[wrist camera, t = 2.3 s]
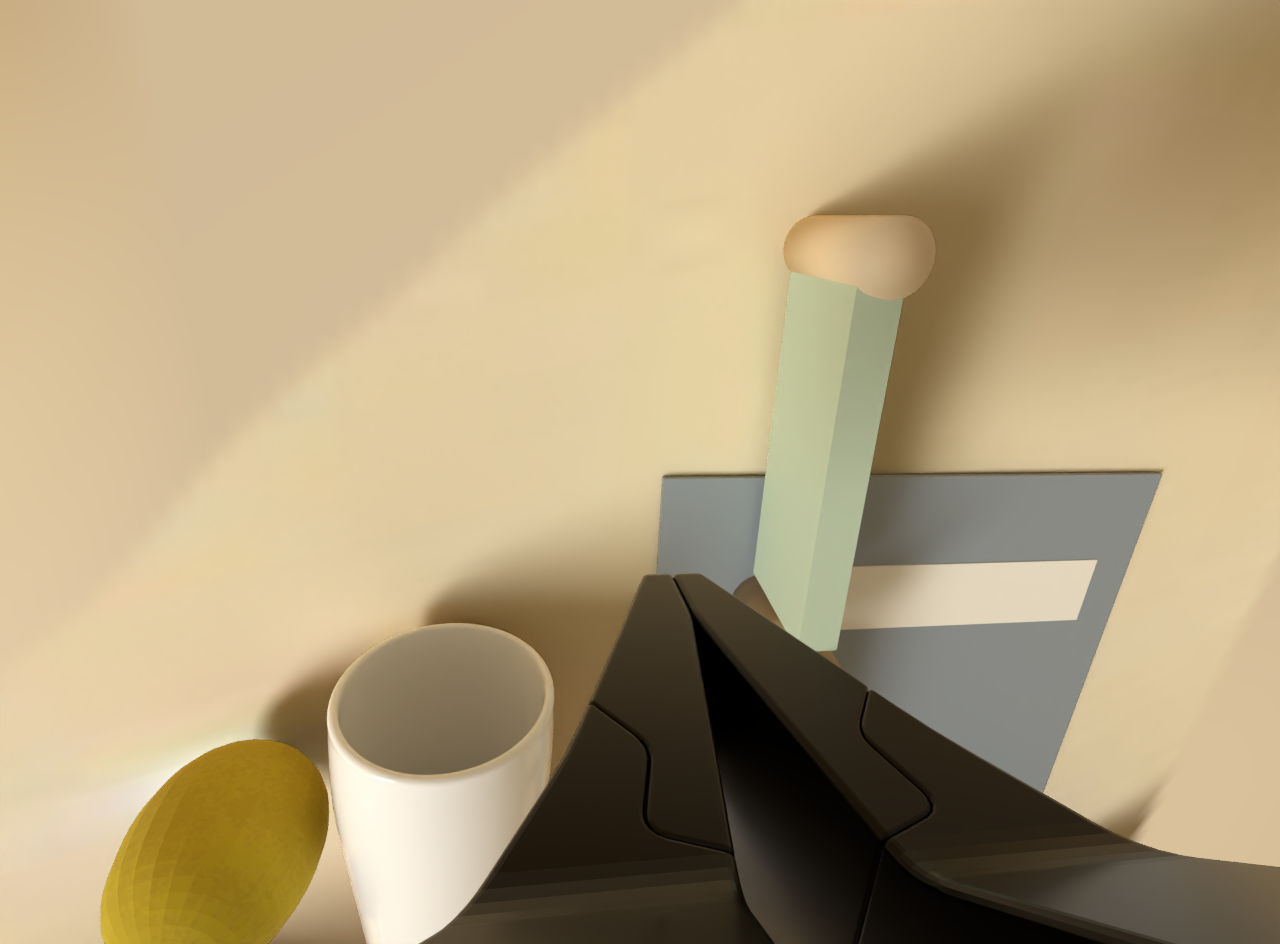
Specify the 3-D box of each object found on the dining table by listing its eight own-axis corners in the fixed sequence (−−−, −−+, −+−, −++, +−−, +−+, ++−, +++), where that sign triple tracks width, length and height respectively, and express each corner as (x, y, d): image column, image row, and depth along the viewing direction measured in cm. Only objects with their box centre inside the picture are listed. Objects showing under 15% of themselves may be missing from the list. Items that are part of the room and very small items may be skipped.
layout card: (1157, 472, 24) (1163, 474, 24) (1018, 846, 31) (1022, 851, 31) (662, 476, 21) (663, 479, 21) (638, 882, 29) (639, 887, 29)
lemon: (165, 763, 23) (-13, 1012, 16) (254, 665, 22) (109, 881, 15) (299, 828, 25) (195, 1077, 18) (386, 740, 24) (315, 964, 17)
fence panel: (793, 571, 23) (853, 660, 18) (745, 572, 23) (793, 663, 18) (846, 216, 18) (943, 216, 14) (787, 213, 18) (865, 213, 14)
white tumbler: (525, 875, 29) (545, 614, 23) (540, 1056, 23) (571, 769, 17) (368, 900, 28) (344, 624, 21) (341, 1102, 22) (297, 800, 16)
